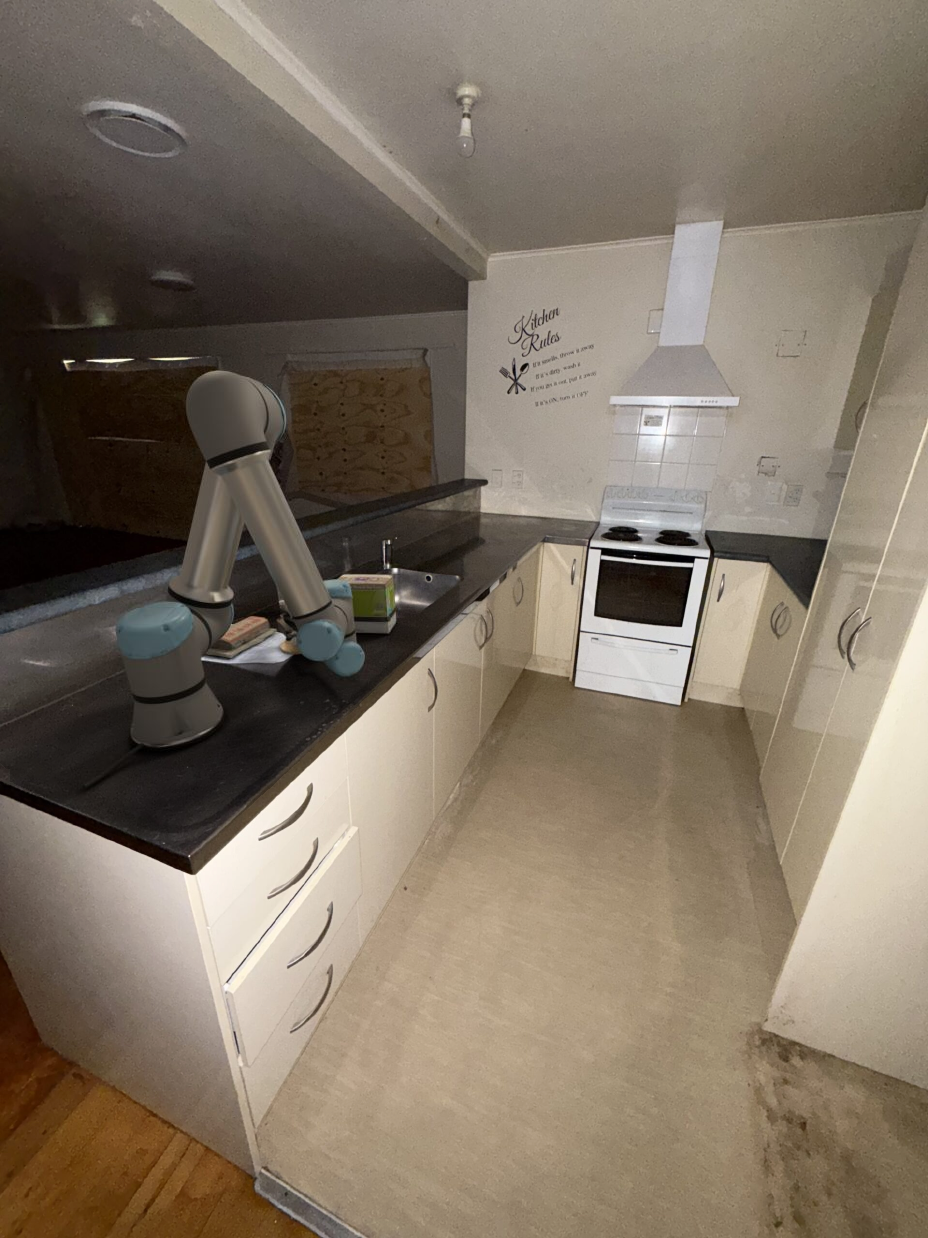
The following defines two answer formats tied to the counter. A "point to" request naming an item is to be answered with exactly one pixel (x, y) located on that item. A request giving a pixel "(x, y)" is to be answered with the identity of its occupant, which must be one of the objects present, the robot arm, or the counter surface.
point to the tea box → (372, 602)
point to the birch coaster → (289, 648)
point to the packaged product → (242, 636)
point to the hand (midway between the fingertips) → (293, 610)
